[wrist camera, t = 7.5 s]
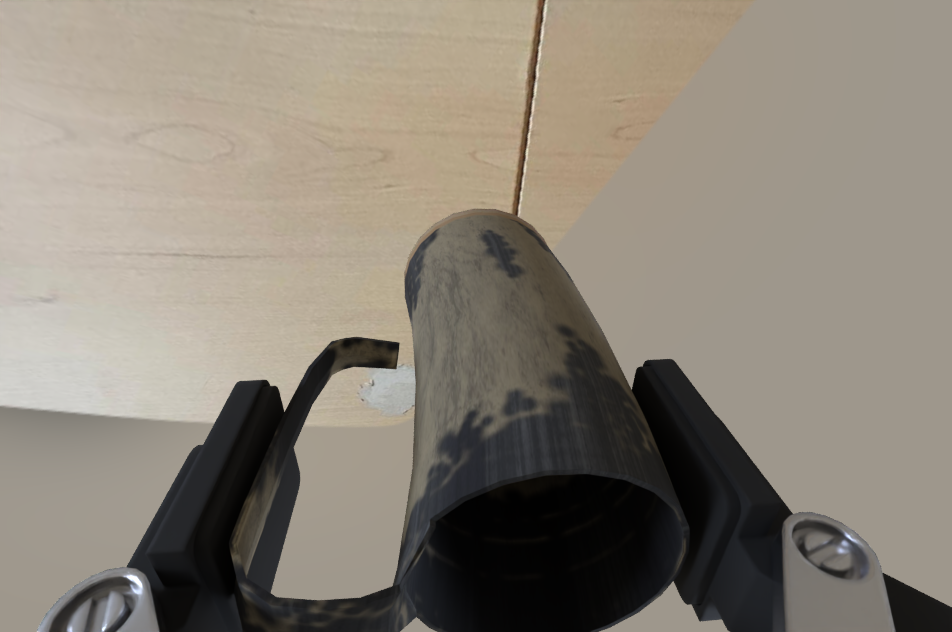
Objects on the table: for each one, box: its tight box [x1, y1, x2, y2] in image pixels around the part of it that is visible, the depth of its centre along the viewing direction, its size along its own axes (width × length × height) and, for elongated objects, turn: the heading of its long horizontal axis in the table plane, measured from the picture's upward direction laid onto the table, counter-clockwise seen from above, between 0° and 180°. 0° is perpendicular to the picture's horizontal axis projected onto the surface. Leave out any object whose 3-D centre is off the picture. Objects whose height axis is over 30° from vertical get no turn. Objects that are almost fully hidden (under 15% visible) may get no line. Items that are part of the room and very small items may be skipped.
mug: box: [229, 209, 690, 632], centre depth 12 cm, size 8×6×12 cm
